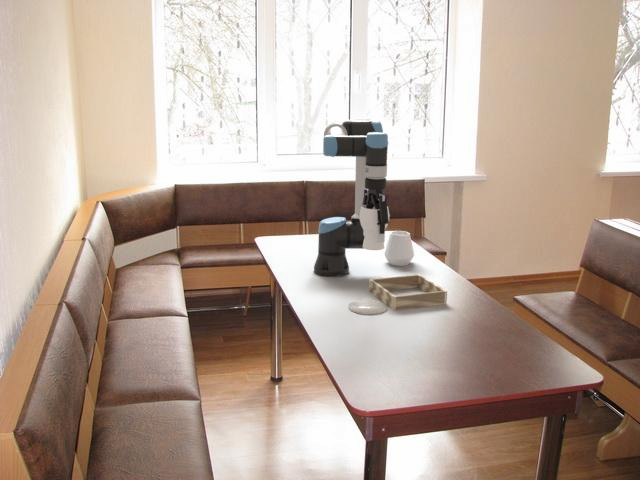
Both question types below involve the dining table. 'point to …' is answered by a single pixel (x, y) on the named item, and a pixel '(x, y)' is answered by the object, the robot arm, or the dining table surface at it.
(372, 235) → the cup
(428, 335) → the dining table surface
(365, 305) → the disc
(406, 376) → the dining table surface
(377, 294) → the corral
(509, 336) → the dining table surface
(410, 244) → the cup
